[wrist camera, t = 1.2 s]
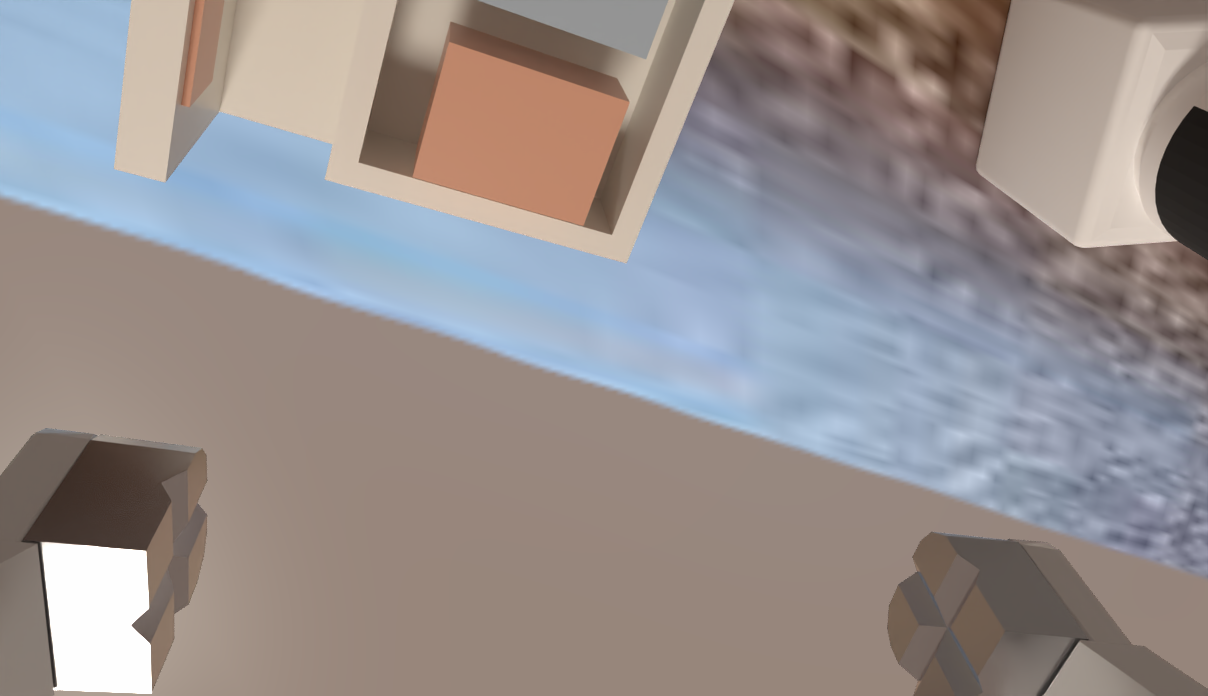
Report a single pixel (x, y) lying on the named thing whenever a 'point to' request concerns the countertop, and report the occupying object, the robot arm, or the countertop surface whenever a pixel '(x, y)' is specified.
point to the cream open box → (394, 94)
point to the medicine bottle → (1104, 119)
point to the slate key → (597, 19)
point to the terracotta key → (518, 125)
